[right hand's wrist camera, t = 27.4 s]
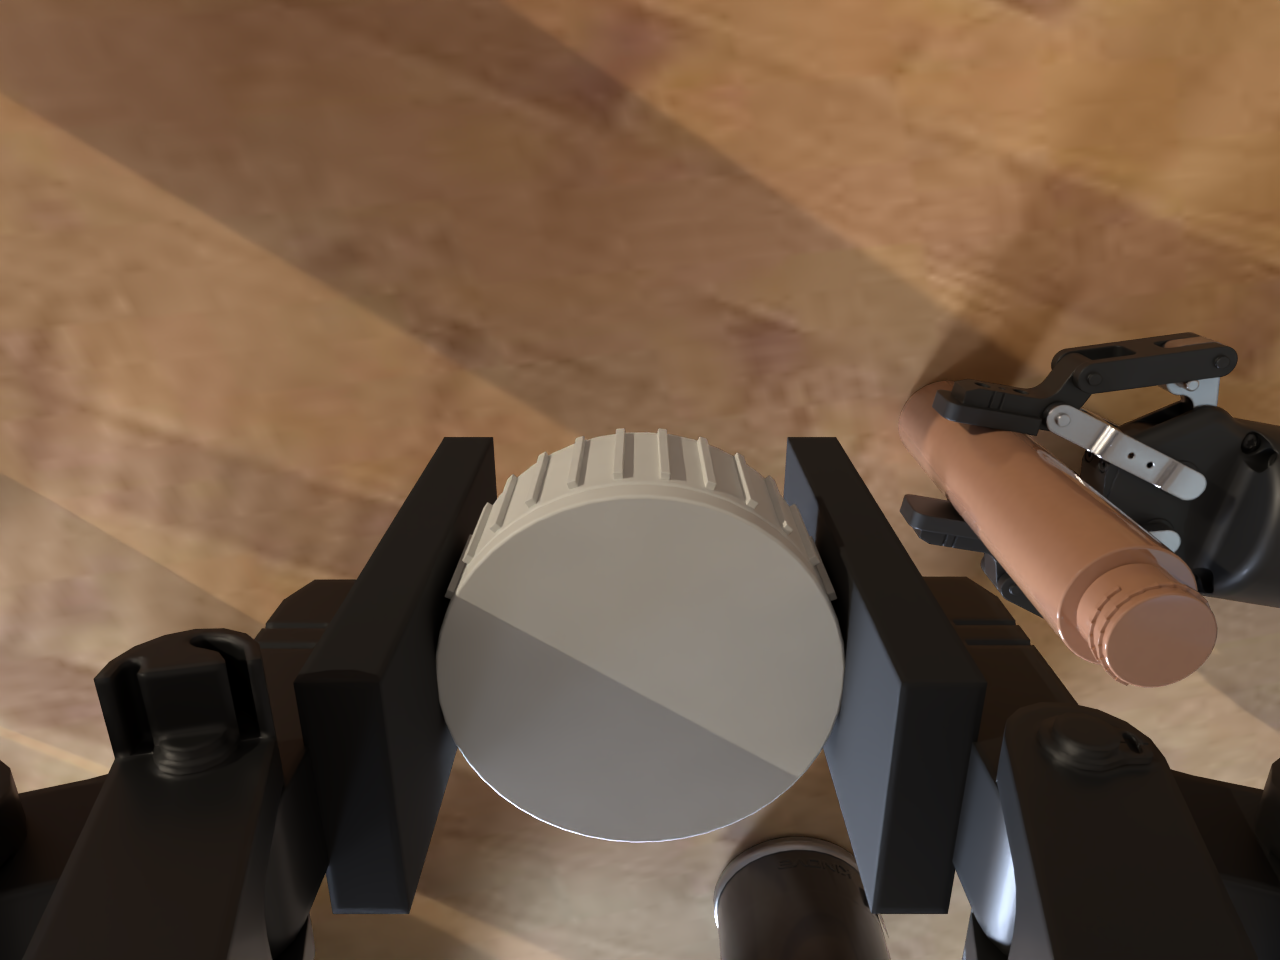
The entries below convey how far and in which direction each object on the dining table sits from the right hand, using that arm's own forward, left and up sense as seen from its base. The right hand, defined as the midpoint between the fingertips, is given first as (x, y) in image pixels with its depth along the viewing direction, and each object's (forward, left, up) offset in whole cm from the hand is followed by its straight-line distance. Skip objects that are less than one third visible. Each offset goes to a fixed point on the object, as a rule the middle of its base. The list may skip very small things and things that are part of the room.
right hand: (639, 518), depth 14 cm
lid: (0, 0, +4) cm, 4 cm away
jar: (+3, -16, -28) cm, 32 cm away
